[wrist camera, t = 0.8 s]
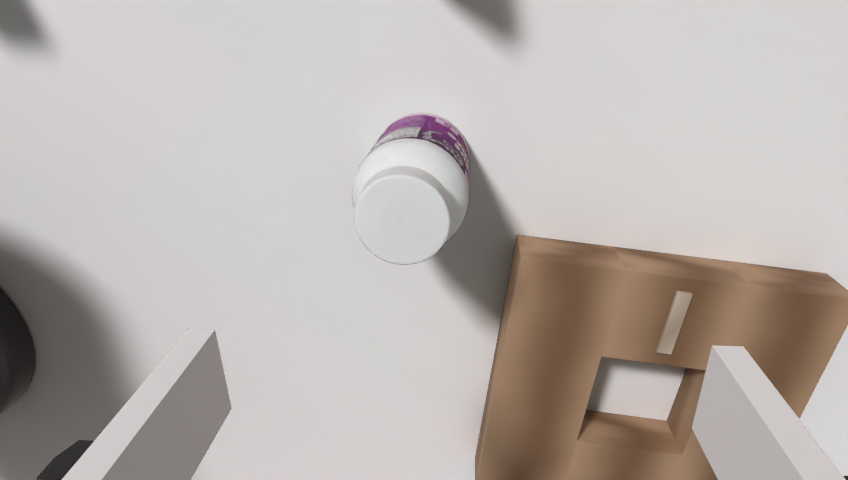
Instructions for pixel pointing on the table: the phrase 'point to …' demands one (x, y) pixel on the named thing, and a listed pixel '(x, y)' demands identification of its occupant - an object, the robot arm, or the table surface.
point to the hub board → (637, 354)
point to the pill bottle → (412, 189)
